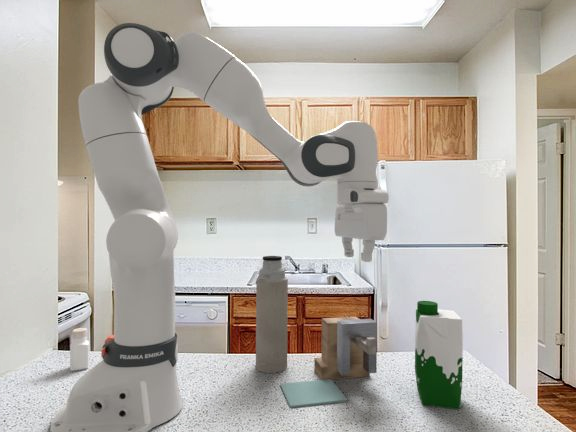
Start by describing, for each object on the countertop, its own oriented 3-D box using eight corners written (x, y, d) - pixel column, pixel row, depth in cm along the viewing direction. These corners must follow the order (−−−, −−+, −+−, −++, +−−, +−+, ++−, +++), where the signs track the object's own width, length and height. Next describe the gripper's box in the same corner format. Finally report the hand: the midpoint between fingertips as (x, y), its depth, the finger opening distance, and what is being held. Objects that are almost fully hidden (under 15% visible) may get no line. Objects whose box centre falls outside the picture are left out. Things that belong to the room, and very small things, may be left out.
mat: (290, 407, 73) (290, 405, 73) (280, 385, 82) (280, 383, 82) (347, 401, 75) (347, 399, 75) (330, 380, 85) (330, 378, 85)
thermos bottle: (267, 358, 99) (268, 254, 99) (293, 364, 94) (293, 255, 95) (249, 368, 92) (250, 256, 92) (275, 375, 88) (276, 258, 88)
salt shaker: (69, 372, 89) (70, 332, 89) (70, 366, 92) (70, 328, 92) (88, 369, 91) (89, 330, 91) (88, 363, 94) (88, 326, 94)
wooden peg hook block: (343, 410, 72) (344, 341, 72) (314, 370, 91) (314, 315, 91) (399, 403, 75) (399, 337, 75) (359, 366, 94) (359, 313, 94)
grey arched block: (342, 375, 78) (342, 324, 78) (337, 370, 81) (337, 320, 81) (376, 372, 80) (376, 322, 80) (370, 367, 83) (370, 318, 83)
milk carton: (412, 387, 82) (412, 298, 82) (455, 391, 80) (456, 300, 80) (418, 407, 73) (418, 307, 74) (467, 412, 71) (467, 309, 72)
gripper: (328, 198, 91) (328, 254, 90) (363, 193, 71) (363, 265, 70) (352, 199, 92) (352, 254, 92) (393, 193, 72) (393, 264, 72)
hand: (357, 259), depth 81 cm, fingers open, 8 cm apart
